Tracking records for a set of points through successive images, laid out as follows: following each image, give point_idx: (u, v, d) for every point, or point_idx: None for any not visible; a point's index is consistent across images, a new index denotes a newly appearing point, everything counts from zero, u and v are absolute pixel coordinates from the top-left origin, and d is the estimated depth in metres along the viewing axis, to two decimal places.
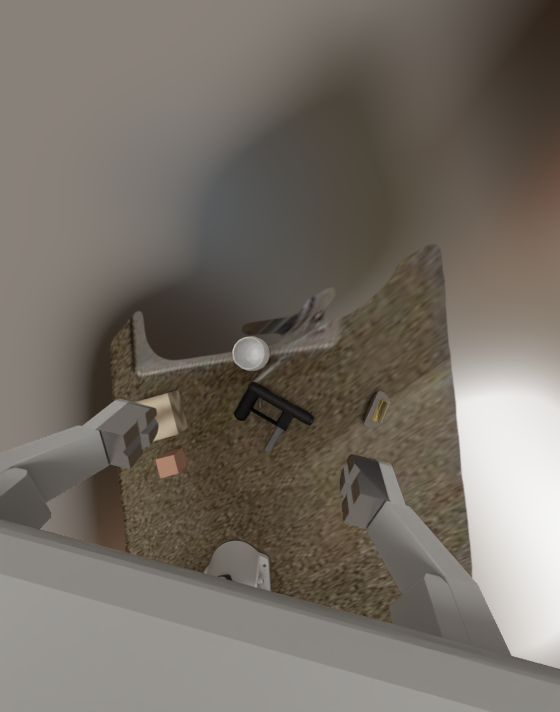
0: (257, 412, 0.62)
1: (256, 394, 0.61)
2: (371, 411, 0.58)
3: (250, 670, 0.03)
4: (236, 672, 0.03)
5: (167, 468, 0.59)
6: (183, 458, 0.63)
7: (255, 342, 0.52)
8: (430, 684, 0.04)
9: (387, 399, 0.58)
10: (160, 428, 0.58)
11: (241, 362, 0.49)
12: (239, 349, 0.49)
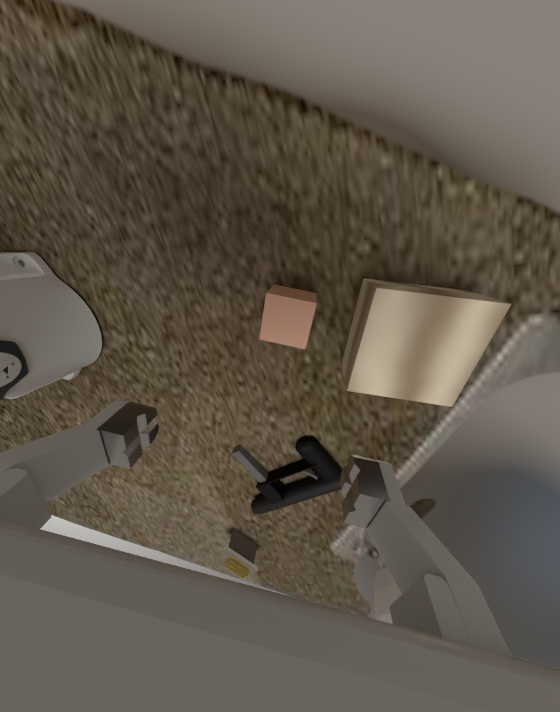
0: None
1: (326, 484, 0.37)
2: (240, 559, 0.49)
3: (250, 670, 0.03)
4: (236, 672, 0.03)
5: (282, 320, 0.23)
6: None
7: None
8: (430, 684, 0.04)
9: None
10: (383, 361, 0.22)
11: None
12: None
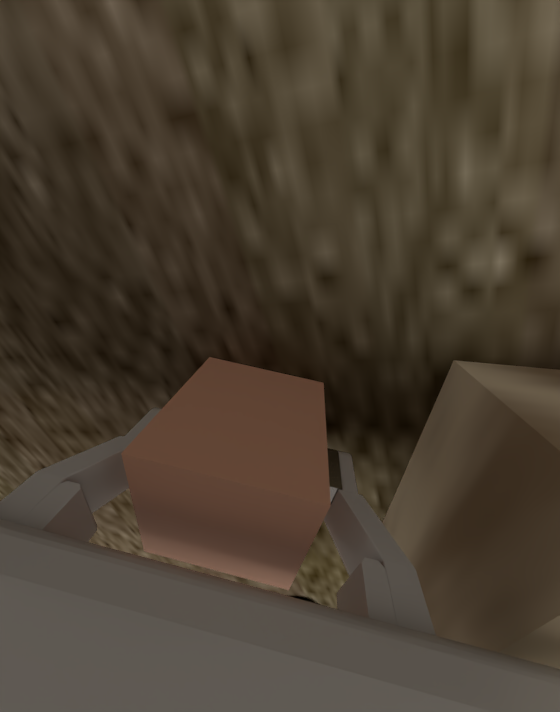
0: None
1: None
2: None
3: (250, 670, 0.03)
4: (236, 672, 0.03)
5: (204, 527, 0.06)
6: None
7: None
8: (430, 684, 0.04)
9: None
10: None
11: None
12: None
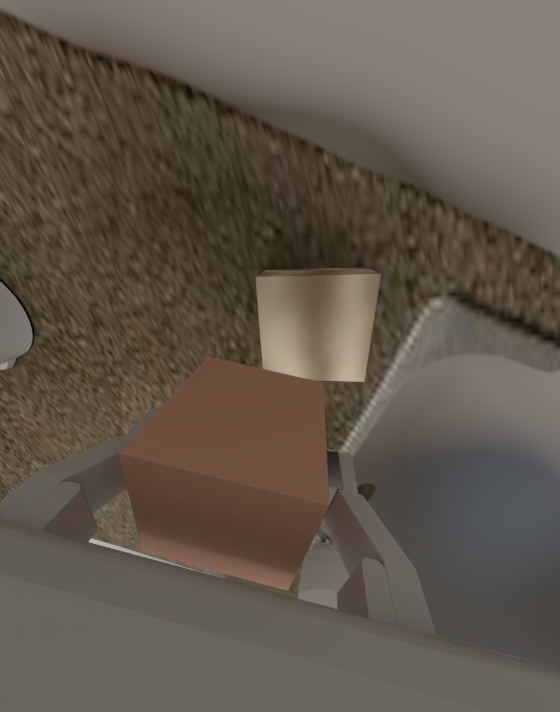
0: None
1: None
2: None
3: (250, 670, 0.03)
4: (236, 672, 0.03)
5: (203, 528, 0.06)
6: None
7: None
8: (430, 684, 0.04)
9: None
10: (286, 345, 0.23)
11: None
12: None
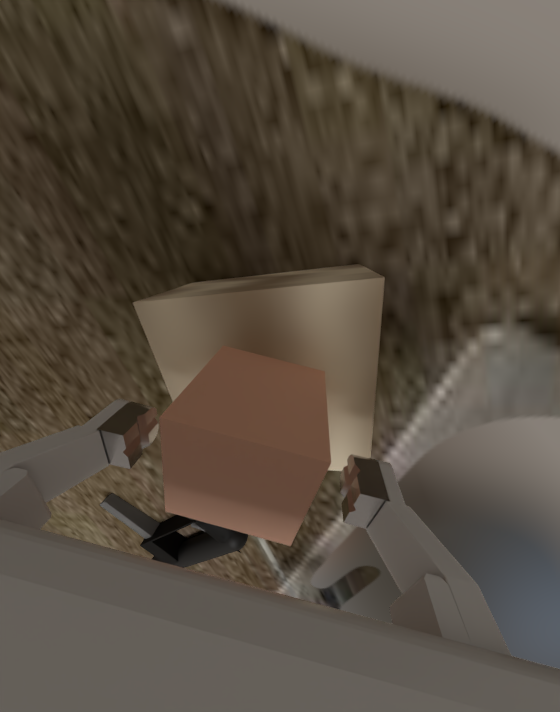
0: None
1: (217, 544, 0.27)
2: None
3: (250, 670, 0.03)
4: (236, 672, 0.03)
5: (222, 486, 0.07)
6: None
7: None
8: (430, 684, 0.04)
9: None
10: None
11: None
12: None
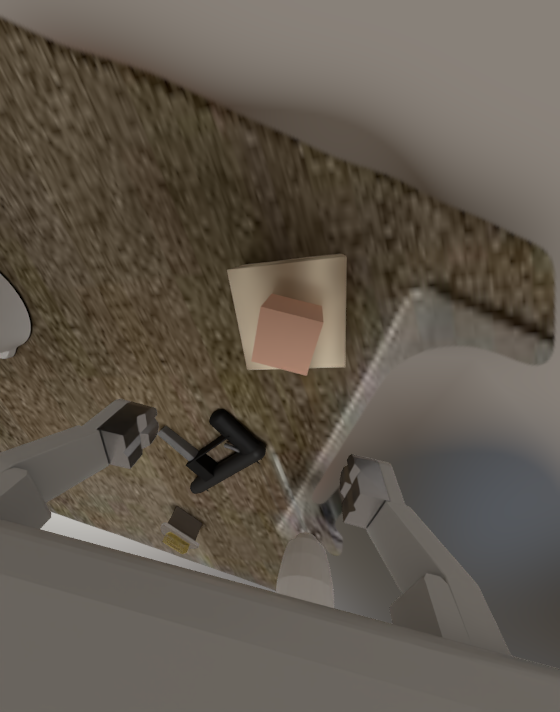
0: None
1: (244, 456, 0.38)
2: (178, 534, 0.50)
3: (250, 670, 0.03)
4: (236, 672, 0.03)
5: (280, 341, 0.18)
6: None
7: None
8: (430, 684, 0.04)
9: None
10: None
11: None
12: None
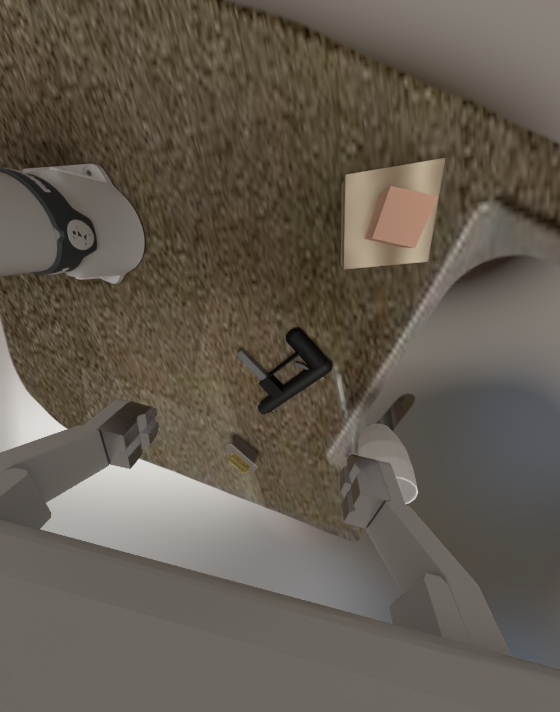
0: None
1: (314, 370, 0.45)
2: (241, 455, 0.56)
3: (250, 670, 0.03)
4: (236, 672, 0.03)
5: (400, 216, 0.25)
6: (382, 242, 0.30)
7: None
8: (430, 684, 0.04)
9: None
10: (365, 234, 0.30)
11: None
12: None
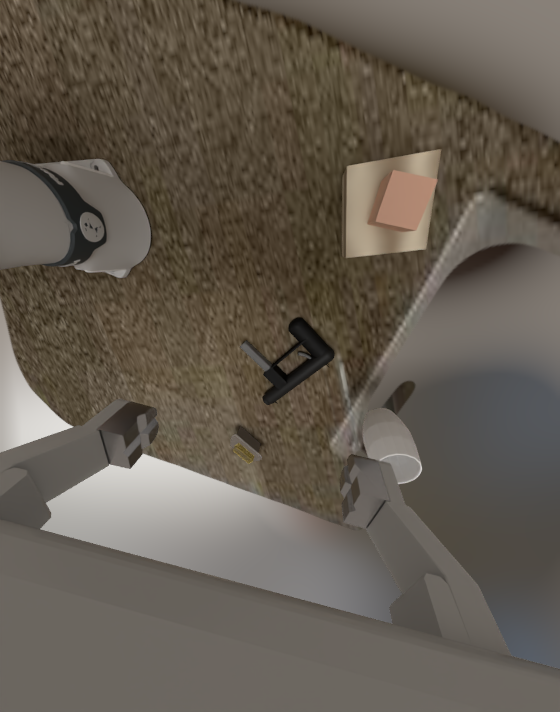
0: None
1: (317, 358, 0.46)
2: (246, 445, 0.57)
3: (250, 670, 0.03)
4: (236, 672, 0.03)
5: (401, 199, 0.26)
6: (384, 227, 0.31)
7: None
8: (430, 684, 0.04)
9: None
10: (366, 223, 0.32)
11: None
12: None
